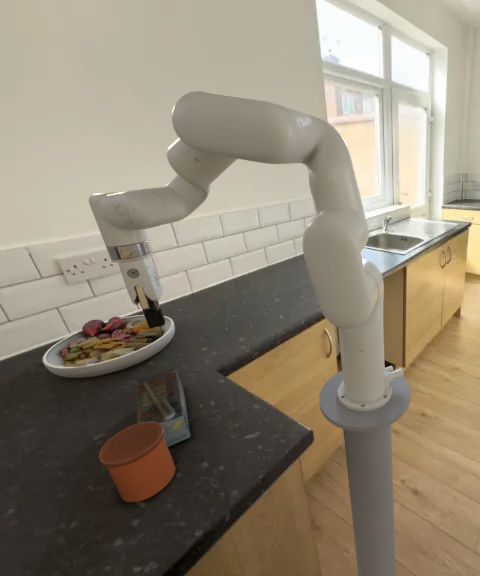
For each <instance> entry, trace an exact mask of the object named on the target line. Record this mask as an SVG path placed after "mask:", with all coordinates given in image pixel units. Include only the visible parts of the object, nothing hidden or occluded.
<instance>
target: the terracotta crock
mask: <svg viewBox="0 0 480 576" xmlns="http://www.w3.org/2000/svg"><path fill="white" fill-rule="evenodd" d="M98 460H99V461H100V464H101V465H102V466H103V467H105V468H106V470H107V472H108V474H109V476H110V478H111V480H112V482H113V484H114V486H115V488H116V490H117V491H118V494H119V497H120V498H121V500H123V501H124V502H127V503H137V502H138V503H139V502H141V501H145V500H147V499H150V498H151V497H153V496H155V495H157V494H158V493H159V492H160V491H162V490H163V489H164V488H165V487H166V486H167V485H168V484H169V483H170V482H171V481H172V479H173V478H174V476H175V473H176V464H175V461H174V458H173V456H172V453H171V450H170V448H169V447H168V445H167V443H166V440H165V437H164V429H163V426H162V425H161V424H160V423H158V422H153V421H149V422H142V423H138V424H137V423H135V424H133V425H130V426H127V427H126V428H124V429H122V430H120V431H119V432H116V433H115V434H114V435H113V436H111V437H110V438H109V439H108V440H107V441H106V442H105V443H104V444H103V445H102V447H101V448H100V450H99V452H98Z"/></svg>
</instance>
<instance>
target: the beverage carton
mask: <svg viewBox="0 0 480 576" xmlns="http://www.w3.org/2000/svg"><path fill="white" fill-rule="evenodd" d="M136 398H137V400H136V402H137V404H136V424H138V423H142V422H149V421H153V422H158V423H160V424H161V425H162V426H163V429H164V437H165V440H166V443H167V445H168V448H169V447H172V446H173V445H175V444H177V443H180V442H182V441H185V440H187V439H189V438H191V436H192V435H191V430H190V424H189V417H188V410H187V404H186V397H185V391H184V387H183V384H182V382H181V378H180V376H179V373H178V371H177V369H176V368H173V369H170V370H167V371H164V372H161V373H157V374H154V375H151V376H149V377H146V378H142V379H139V380H138V381H137V397H136Z"/></svg>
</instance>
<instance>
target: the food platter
mask: <svg viewBox="0 0 480 576" xmlns="http://www.w3.org/2000/svg"><path fill="white" fill-rule="evenodd" d="M163 316H164V319H165V325H163V326H159V327H154V328H149V326H148V324H147V321H146V318H145V316H144V314H140V315H132V316H126V317H120V316H113V317H111V318H109V319H108V321H105V322H104V320H101V319H91V320H89V321H88V322H86V323H84V324H83V325H82V328H81V330H79V331H77V332H75V333H73V334H70V335H68V336H67V337H64V338H62V339H61V340H58V342H56V343H54V344H53V345H52V346H51V347H49V348H48V349H47V351H46V352H44V354H43V356H42V363H43V365H44V367H45V369H47V371H49V372H50V373H52V374H53V375H55V376H58V377H63V378H70V379H86V378H94V377H100V376H104V375H108V374H112V373H115V372H120V371H123V370H126V369H128V368H131V367H133V366H135V365H138V364H141V363H142V362H144V361H146V360H148V359H150V358H152V357H154V356H155V355H157V354H158V353H160V352H161V351H162V350H163V349H165V347H167V346H168V345H169V343H170V342H171V341H172V339H173V337H174V336H175V332H176V325H175V322H174V320H173V319H172V318H171V317H170V316H166V315H163Z"/></svg>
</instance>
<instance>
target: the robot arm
mask: <svg viewBox="0 0 480 576" xmlns="http://www.w3.org/2000/svg"><path fill="white" fill-rule="evenodd" d="M171 124H172V127H173V130H174V132H175V134H176V136H177V137H178V138H177V139H176V140H175V141H174V142H173V143H171V145H170V146H169V147H168V148H167V151H166V159H167V161H168V163H169V166H170V167H171V168H172V170H173V171H174V172H175V173H176V176H175V177H173V179H172V180H171V181H170V182H168V183H167V184H166V185H165V186H160V187H149V188H148V187H147V188H142V189H131V190H125V191H108V192H97V193H93V194H91V195H90V196H89V197H88V204H89V206H90V210H91V212H92V214H93V217H94V220H95V222H96V225H97V227H98V231H99V232H100V235H101V237H102V240H103V243H104V245H105V248H106V250H107V253H108V256H109V258H110V261H111V262H112V263H118V267H119V270H120V274H121V276H122V279H123V282H124V285H125V288H126V291H127V293H128V296H129V299H130V301H131V303H132V304H133V305H135V306H138V305H140V307H141V310H142V312H143V315H144V316H145V318H146V321H147V324H148V326H149V328H154V327H159V326H163V325H165V319H164V316H165V315H164V313H163V310H162V308H161V306H160V302H159V300H160V299H161V297H162V295H163V291H164V288H163V287H164V286H163V285H162V283H161V280H160V277H159V275H158V272H157V269H156V266H155V265H154V261H153V259H152V256H154V251H153V248H152V245H151V243H150V239H149V236H148V233H147V229H151V228H155V227H160V226H163V225H167V224H172V223H176V222H180V221H182V220H184V219H186V218H187V217H189V216H190V215H191V214H192V213H194V211H196V210H197V209H198V208H199V207H200V206H202V205H203V204H204V202H205V201H206V200H207V198H208V195H209V194H210V191H211V185H212V183H214V181H215V180H216V179H218V178H219V177H220V176H221V175H222V174H223V173H224V172H225V171H226V170H227V169H228V168H230V167H231V165H233V164H234V163H235V162H236V161H237V160H244V161H249V162H253V163H254V162H255V163H259V164H260V163H261V164H266V165H287V164H288V165H291V164H302V165H304V166H306V168H307V171H308V185H309V190H310V195H311V197H312V200H313V204H314V209H315V214H316V216H314V217H313V218H312V219H311V220H310V221H309V222H308V224H307V225H306V227H305V228H304V232H303V236H302V254H303V257H304V261H305V264H306V268H307V271H308V274H309V278H310V281H311V286H312V287H313V291H314V295H315V298H316V301H317V304H318V307H319V309H320V312H321V313H322V315H323V316H324V318H325V319H326V320H327V321H328V322H329V323H330V325H333V326H334V327H336V328H338V339H339V351H340V361H341V371H342V372H343V381H342V382H341V384H340V385H339V387H338V391H337V392H338V399H339V401H340V403H341V404H342V405H343V406H345V407H346V408H348V409H350V410H354V411H361V412H362V411H371V410H375V409H378V408H380V407H382V406H383V405H385V404H386V403H387V402H388V401H389V399H390V398H391V395H392V385H391V382H392V381H393V379H397V378H400V377H402V376H403V377H404V376H405V374H404V370H403V369H402V368H398V369H394V367H393V365H390V366H386V365H385V340H384V338H385V337H384V335H385V333H384V302H385V301H384V297H385V284H384V277H383V275H382V272H381V270H380V269H379V268H378V266H377V265H376V264H375V263H373V262H372V261H370V260H368V259H364V258H363V257H362V251H363V250H364V248H366V245H367V244H368V242H369V236H370V231H369V225H368V222H367V218H366V215H365V210H364V206H363V202H362V198H361V192H360V189H359V185H358V181H357V177H356V173H355V168H354V164H353V160H352V156H351V152H350V150H349V147H348V145H347V143H346V140H345V138H344V137H343V136H342V135H341V133H340V132H339V130H338V129H336V127H334V126H333V125H332V123H331V124H330V122H328V121H326V120H324V119H322V118H320V117H317V116H314V115H312V114H309V113H305V112H303V111H299V110H296V109H293V108H290V107H287V106H284V105H281V104H278V103H274V102H270V101H265V100H259V99H252V98H245V97H237V96H230V95H225V94H224V95H222V94H217V93H210V92H206V91H200V90H199V91H198V90H197V91H196V90H195V91H190V92H187V93H185V94H183V95H182V96H181V97H179V98H178V100H176V102H175V103H174V106H173V108H172V113H171ZM385 367H386V368H385ZM393 370H394V371H393ZM392 371H393V372H392ZM390 372H391V373H390Z"/></svg>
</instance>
